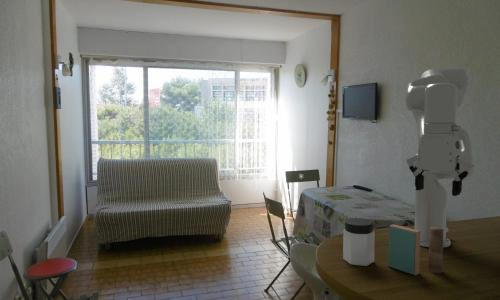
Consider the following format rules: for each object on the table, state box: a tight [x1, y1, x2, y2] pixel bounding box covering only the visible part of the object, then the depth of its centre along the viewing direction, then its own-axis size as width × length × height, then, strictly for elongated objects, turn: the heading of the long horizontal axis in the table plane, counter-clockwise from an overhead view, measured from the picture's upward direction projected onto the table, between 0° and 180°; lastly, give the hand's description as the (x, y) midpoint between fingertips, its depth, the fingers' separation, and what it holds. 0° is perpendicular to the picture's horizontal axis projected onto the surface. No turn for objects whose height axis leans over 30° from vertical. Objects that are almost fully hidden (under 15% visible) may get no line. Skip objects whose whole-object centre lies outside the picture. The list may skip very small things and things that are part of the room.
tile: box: [387, 223, 421, 276], centre depth 101 cm, size 2×8×12 cm, turn 38°
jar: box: [342, 217, 376, 267], centre depth 108 cm, size 9×8×12 cm
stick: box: [427, 227, 444, 274], centre depth 100 cm, size 3×3×12 cm
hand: (437, 192), depth 98 cm, fingers open, 9 cm apart
